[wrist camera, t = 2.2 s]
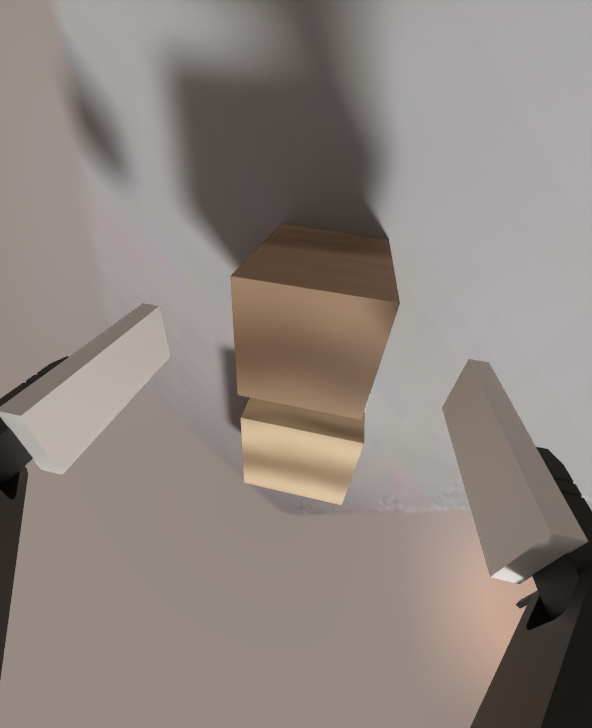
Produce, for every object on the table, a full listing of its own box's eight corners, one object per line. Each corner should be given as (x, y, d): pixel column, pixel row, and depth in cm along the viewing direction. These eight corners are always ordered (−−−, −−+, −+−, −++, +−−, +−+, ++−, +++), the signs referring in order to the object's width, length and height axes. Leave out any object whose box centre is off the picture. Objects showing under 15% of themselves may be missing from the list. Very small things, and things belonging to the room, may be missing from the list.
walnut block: (281, 223, 17) (230, 276, 11) (388, 238, 16) (399, 303, 10) (277, 316, 21) (237, 394, 14) (363, 331, 20) (361, 419, 14)
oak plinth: (253, 390, 24) (240, 417, 22) (364, 412, 23) (364, 443, 21) (254, 455, 30) (244, 482, 27) (343, 475, 29) (341, 505, 26)
